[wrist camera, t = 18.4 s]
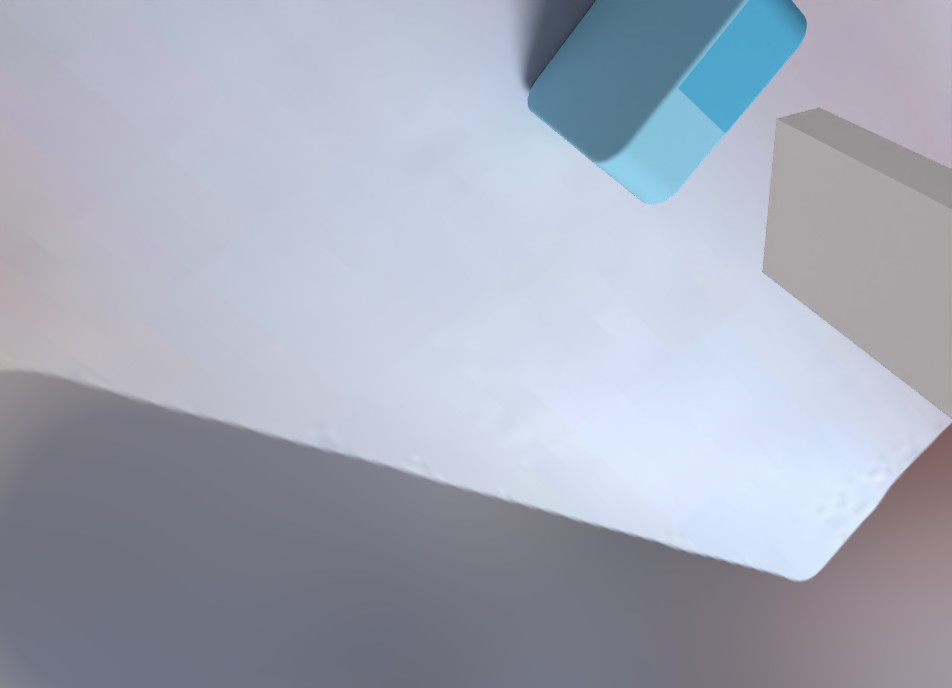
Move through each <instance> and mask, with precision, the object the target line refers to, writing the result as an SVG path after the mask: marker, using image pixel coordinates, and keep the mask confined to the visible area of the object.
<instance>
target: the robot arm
mask: <svg viewBox="0 0 952 688" xmlns="http://www.w3.org/2000/svg"><path fill="white" fill-rule="evenodd" d="M762 272H763V273H764V274H765V275H767V276H768V277H769V278H771V279H772V280H773V281H774V282H776V283H777V284H778V285H780V286H781V287H782V288H783V289H785V290H786V291H787V292H789V293H790V294H791V295H792V296H794V297H795V298H796V299H798V300H799V301H800V302H801V303H803V304H804V305H805V306H807V307H808V308H809V309H811V310H812V311H813V312H814V313H816V314H817V315H818V316H820V317H821V318H822V319H823V320H825V321H826V322H827V323H829V324H830V325H831V326H832V327H834V328H835V329H836V330H838V331H839V332H840V333H841V334H843V335H844V336H845V337H847V338H848V339H849V340H850V341H852V342H853V343H854V344H856V345H857V346H858V347H860V348H861V349H862V350H863V351H865V352H866V353H867V354H869V355H870V356H871V357H872V358H874V359H875V360H876V361H878V362H879V363H880V364H881V365H883V366H884V367H885V368H887V369H888V370H889V371H890V372H892V373H893V374H894V375H896V376H897V377H898V378H900V379H901V380H902V381H903V382H905V383H906V384H907V385H909V386H910V387H911V388H912V389H914V390H915V391H916V392H918V393H919V394H920V395H921V396H923V397H924V398H925V399H927V400H928V401H929V402H930V403H932V404H933V405H934V406H936V407H937V408H938V409H939V410H941V411H942V412H943V413H945V414H946V415H947V416H949V417H950V418H951V419H952V169H950V168H948V167H946V166H944V165H941V164H939V163H937V162H935V161H933V160H931V159H929V158H926V157H924V156H922V155H920V154H918V153H916V152H914V151H911V150H909V149H907V148H905V147H903V146H901V145H899V144H896V143H894V142H892V141H890V140H888V139H886V138H883V137H881V136H879V135H877V134H875V133H873V132H871V131H868V130H866V129H864V128H862V127H860V126H858V125H856V124H853V123H851V122H849V121H847V120H845V119H843V118H841V117H838V116H836V115H834V114H832V113H830V112H828V111H826V110H823V109H821V108H816V109H812V110H808V111H805V112H801V113H797V114H793V115H789V116H786V117H782V118H778V119H776V129H775V140H774V151H773V162H772V173H771V183H770V194H769V205H768V216H767V227H766V237H765V248H764V259H763V270H762Z"/></svg>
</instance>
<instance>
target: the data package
mask: <svg viewBox="0 0 952 688" xmlns="http://www.w3.org/2000/svg"><path fill="white" fill-rule="evenodd" d="M806 28H807V23H806V19H805V16H804V15H803V14H802V13H801V11H800V10H799V9H798V8H797V7H796V5H795V4H794V3H793V2H792V0H596V1H595V2H594V4H593V5H592V6H591V8H590V9H589V10H588V12H587V13H586V14H585V16H584V17H583V18H582V20H581V21H580V22H579V24H578V25H577V26H576V28H575V29H574V30H573V32H572V33H571V34H570V36H569V37H568V38H567V40H566V41H565V42H564V44H563V45H562V46H561V48H560V49H559V50H558V52H557V53H556V54H555V56H554V57H553V58H552V60H551V61H550V62H549V64H548V65H547V66H546V68H545V69H544V70H543V72H542V73H541V74H540V76H539V77H538V78H537V80H536V81H535V83H534V84H533V86H532V88H531V90H530V93H529V96H528V107H529V109H530V110H531V112H533V113H534V114H535V115H536V116H537V117H539V118H540V119H541V120H542V121H543V122H545V123H546V124H547V125H548V126H550V127H551V128H552V129H553V130H554V131H556V132H557V133H558V134H559V135H560V136H562V137H563V138H564V139H565V140H567V141H568V142H569V143H570V144H571V145H573V146H574V147H575V148H576V149H577V150H579V151H580V152H581V153H582V154H584V155H585V156H586V157H587V158H588V159H590V160H591V161H592V162H593V163H594V164H596V165H597V166H598V167H599V168H601V169H602V170H603V171H604V172H606V173H607V174H608V175H609V176H611V177H612V178H613V179H614V180H616V181H617V182H618V183H619V184H621V185H622V186H623V187H624V188H626V189H627V190H628V191H629V192H631V193H632V194H633V195H634V196H636V197H637V198H638V199H639V200H641V201H642V202H644V203H646V204H657V203H661V202H663V201H665V200H667V199H668V198H670V197H671V196H673V195H674V194H675V193H676V192H677V191H678V190H679V189H680V187H681V186H682V185H683V184H684V183H685V182H686V180H687V179H688V178H689V177H690V176H691V174H692V173H693V172H694V171H695V170H696V168H697V167H698V166H699V165H700V164H701V162H702V161H703V160H704V159H705V158H706V156H707V155H708V154H709V153H710V152H711V151H712V149H713V148H714V147H715V146H716V145H717V143H718V142H719V141H720V140H721V139H722V137H723V136H724V135H725V134H726V133H727V131H728V130H729V129H730V128H731V127H732V125H733V124H734V123H735V122H736V121H737V120H738V118H739V117H740V116H741V115H742V114H743V112H744V111H745V110H746V109H747V108H748V106H749V105H750V104H751V103H752V102H753V100H754V99H755V98H756V97H757V96H758V94H759V93H760V92H761V91H762V90H763V89H764V87H765V86H766V85H767V84H768V83H769V81H770V80H771V79H772V78H773V77H774V75H775V74H776V73H777V72H778V71H779V69H780V68H781V67H782V66H783V65H784V63H785V62H786V61H787V60H788V59H789V58H790V56H791V55H792V54H793V53H794V52H795V50H796V49H797V48H798V47H799V45H800V44H801V42H802V40H803V38H804V36H805V33H806Z"/></svg>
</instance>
